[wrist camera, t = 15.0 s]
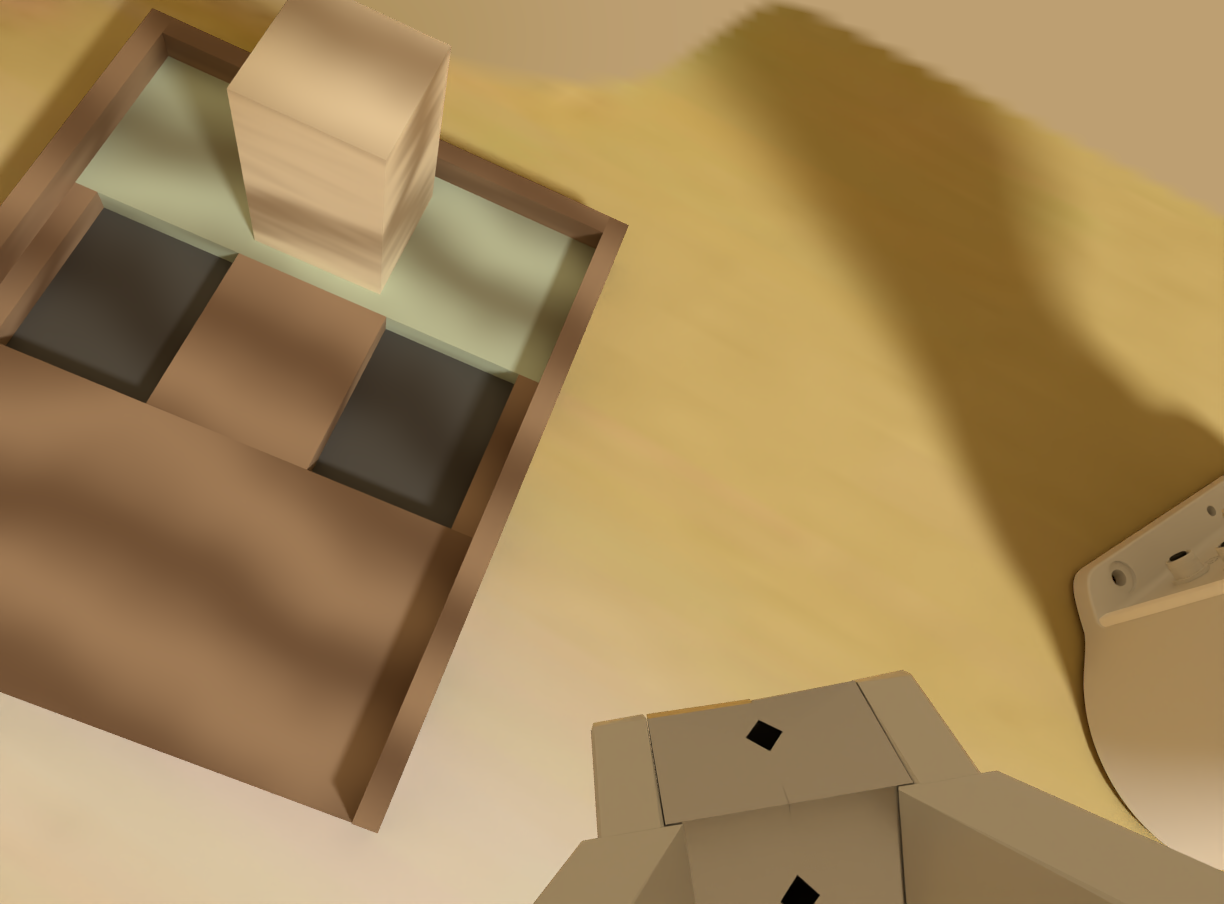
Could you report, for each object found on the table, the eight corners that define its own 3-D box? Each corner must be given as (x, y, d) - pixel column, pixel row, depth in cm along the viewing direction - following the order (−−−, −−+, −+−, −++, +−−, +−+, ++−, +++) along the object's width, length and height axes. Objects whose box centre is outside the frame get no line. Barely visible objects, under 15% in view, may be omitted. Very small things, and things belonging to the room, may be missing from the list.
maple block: (380, 294, 43) (386, 160, 34) (254, 240, 42) (226, 88, 33) (432, 195, 46) (451, 45, 36) (314, 143, 45) (303, -24, 36)
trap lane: (375, 830, 37) (377, 833, 34) (-241, 601, 35) (-292, 584, 32) (613, 257, 49) (628, 225, 46) (164, 54, 46) (152, 8, 43)
